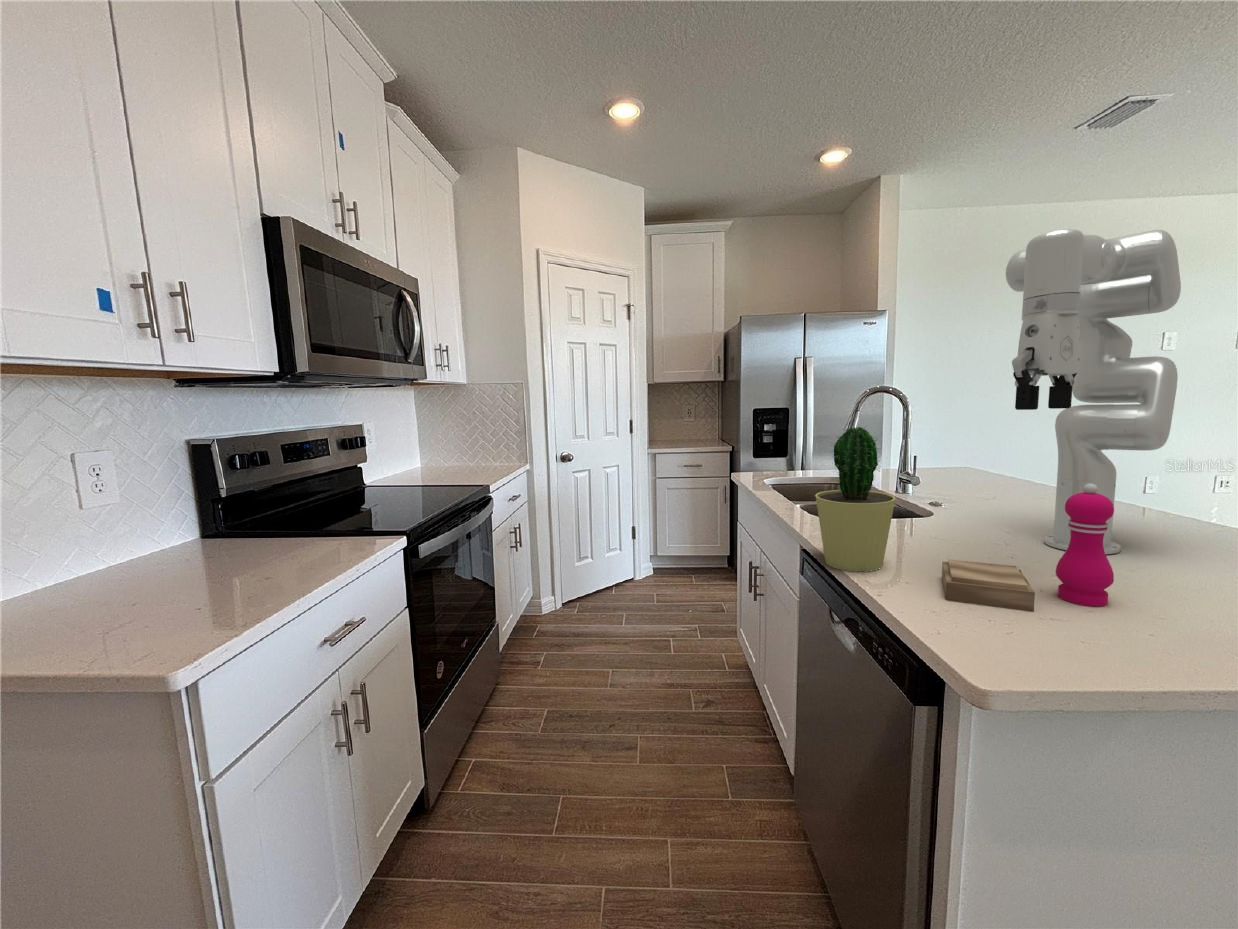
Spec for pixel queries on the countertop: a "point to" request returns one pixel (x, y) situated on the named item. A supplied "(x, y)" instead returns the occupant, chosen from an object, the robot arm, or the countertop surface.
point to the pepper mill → (1086, 550)
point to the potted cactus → (855, 507)
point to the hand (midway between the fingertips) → (1043, 408)
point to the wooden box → (987, 585)
